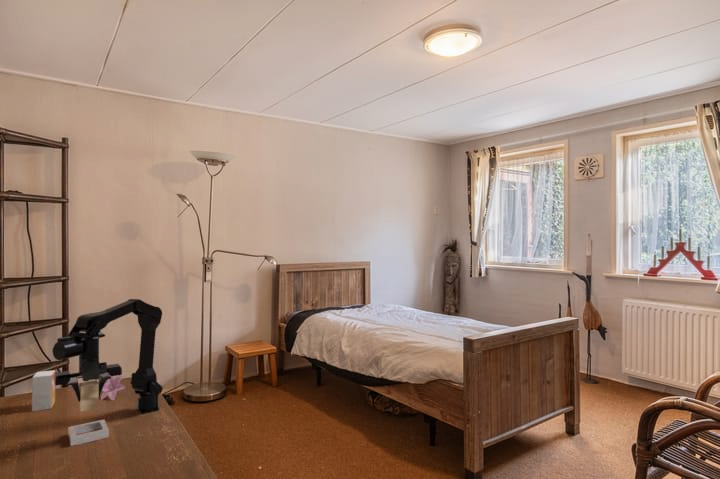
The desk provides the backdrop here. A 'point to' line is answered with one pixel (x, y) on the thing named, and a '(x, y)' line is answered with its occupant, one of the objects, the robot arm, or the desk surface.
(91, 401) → the peg
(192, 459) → the desk surface
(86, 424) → the rectangular frame
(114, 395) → the lily
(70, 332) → the robot arm
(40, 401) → the small box
